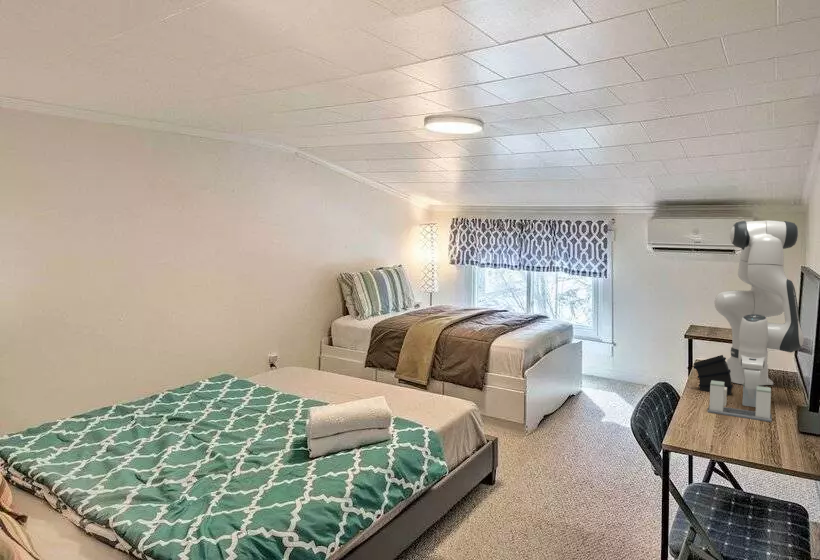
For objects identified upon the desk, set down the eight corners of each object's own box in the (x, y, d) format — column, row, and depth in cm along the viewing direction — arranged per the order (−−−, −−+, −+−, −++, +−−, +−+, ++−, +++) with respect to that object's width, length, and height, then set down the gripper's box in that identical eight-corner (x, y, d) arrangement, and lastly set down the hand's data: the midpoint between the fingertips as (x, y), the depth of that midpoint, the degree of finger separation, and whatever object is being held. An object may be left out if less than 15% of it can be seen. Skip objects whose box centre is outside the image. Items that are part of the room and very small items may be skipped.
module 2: (742, 405, 188) (743, 385, 187) (742, 402, 191) (743, 382, 190) (758, 407, 185) (759, 387, 184) (758, 404, 188) (759, 384, 187)
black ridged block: (740, 392, 197) (721, 355, 200) (704, 401, 205) (687, 365, 209) (741, 390, 200) (723, 354, 203) (706, 399, 208) (690, 363, 211)
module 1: (709, 410, 181) (710, 383, 180) (710, 406, 185) (711, 380, 184) (722, 412, 179) (723, 385, 178) (723, 408, 183) (724, 381, 182)
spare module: (710, 403, 190) (710, 387, 189) (710, 400, 193) (711, 385, 193) (725, 406, 187) (726, 389, 187) (726, 403, 190) (727, 387, 190)
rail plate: (707, 412, 180) (707, 409, 180) (709, 406, 186) (709, 404, 186) (771, 422, 170) (771, 419, 170) (771, 416, 176) (771, 413, 176)
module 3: (755, 417, 173) (756, 389, 173) (755, 413, 177) (756, 386, 177) (769, 419, 171) (771, 391, 170) (769, 415, 175) (770, 387, 174)
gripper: (743, 353, 197) (741, 388, 198) (741, 363, 180) (740, 402, 181) (762, 355, 193) (761, 391, 194) (763, 366, 176) (761, 405, 177)
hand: (751, 396), depth 188 cm, fingers closed on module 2, 4 cm apart
